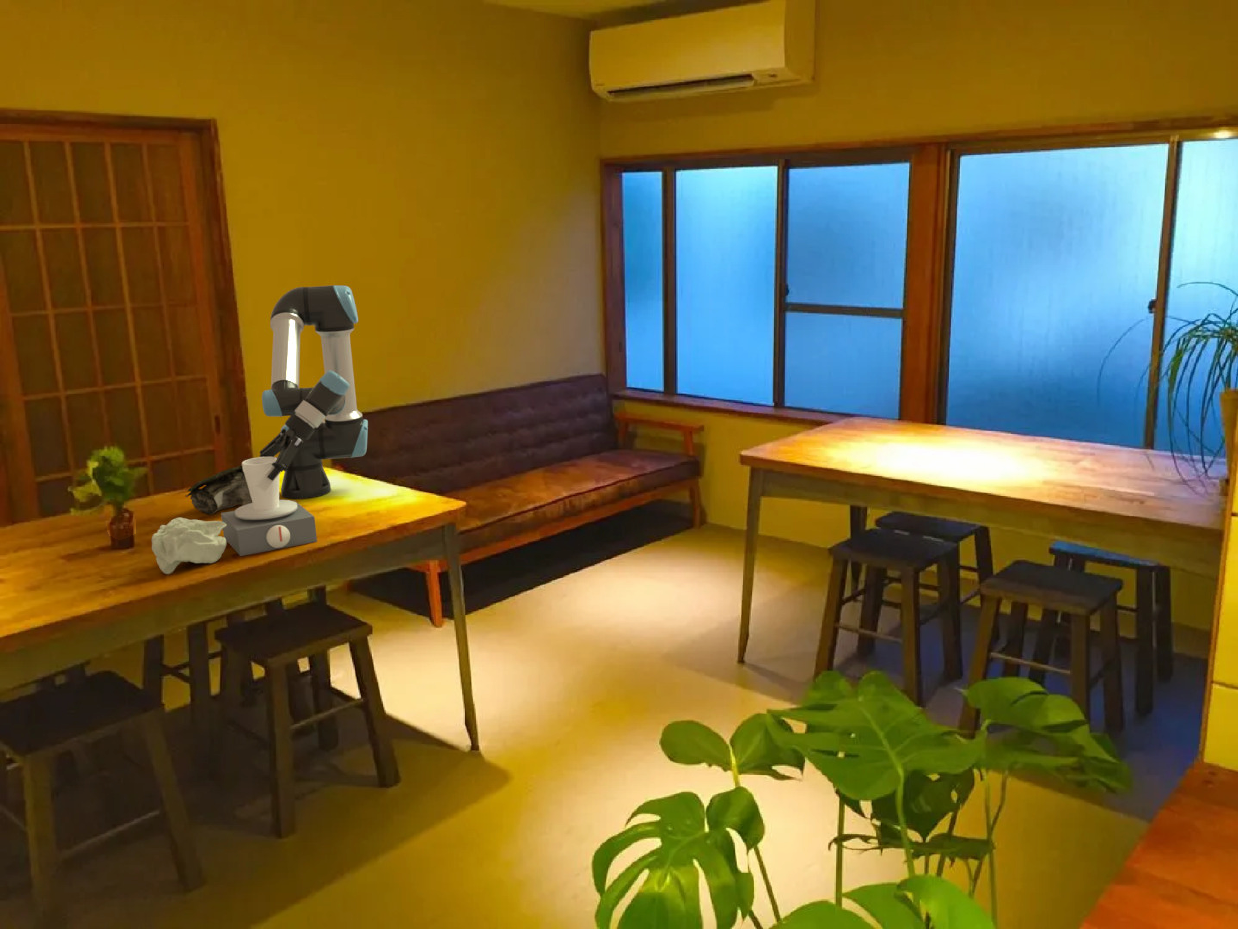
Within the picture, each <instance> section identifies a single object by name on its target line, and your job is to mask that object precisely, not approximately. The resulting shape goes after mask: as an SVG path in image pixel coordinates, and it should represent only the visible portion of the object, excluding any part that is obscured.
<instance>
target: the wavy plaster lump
mask: <svg viewBox="0 0 1238 929" xmlns="http://www.w3.org/2000/svg"><path fill="white" fill-rule="evenodd" d="M225 527H226V523H224V522H222V520H221V521H220V520H211V521H210V520H209V521H206V520H200V519H199V520H198V519H188V518H184V517H181V516H180V517H176V518H173V519H171V520H170V521H169V522H168V523H167V524H166V525H165V524H161V525H160V526H159V529H157V532H155V533H153V534H152V537H151V550H152V552H153V554H154V556H156V557H155V560H156V562H157V563H156V564H157V565H158V566H159V569H160V571H161V572H162V573H163V574H165V575H170V574H172V573H173V572H175V570H176V568H177V567H178V565H180V564H181V563H182V562H185V563H188V562H190V563H194V564H214V563H216V562H217V561H219V559H221V557H222V554H223V553H225V550H226V547H227V543H228V541H227V540H226V539H225V537H224V536H220V534H221V531H223V528H225Z"/></svg>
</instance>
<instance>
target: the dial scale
mask: <svg viewBox="0 0 1238 929" xmlns="http://www.w3.org/2000/svg"><path fill="white" fill-rule="evenodd" d="M220 515H221V516H220V517H221V522H224V523H226V527H225V528H223V529H222V532H223V537H225V539H226V542H227V543H228V544H229V545H230V547H232V549H234V551H235V552H236V554H238V555H239V557H243V556H248V555H253V554H258V553H264V552H270V551H274V550H275V551H276V550H279V549H284V548H285V549H286V548H289V547H295V546H302V545H305V544H311V543H312V544H313V543H316V542H318V536H317V529H316V528H317V527H316V520H315V519H316V518H315V516H314V515H313V514H312V513H310V511H308V510H307V509H306V508H305V507H303V506H302V505H301V504H300V503H298V502H297V501H296V500H289V499H279V506H278V507H277V508H275V509H271V510H265V511H258V510H255V509H254V506H253V503H252V502H250V503H247V504H243V505H242V506H239V507H238V508H236V509H235V510H231V511H226V512H220Z"/></svg>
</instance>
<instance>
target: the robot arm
mask: <svg viewBox="0 0 1238 929" xmlns="http://www.w3.org/2000/svg"><path fill="white" fill-rule="evenodd" d="M355 302H356V301H355V297H354V295H353V291H352V288H350V287H349V286H347V285H338V284H337V285H332V284H331V285H321V286H320V285H318V286H299V287H295V288H292V289H290V290H289V291H287V292H285V294H283V295H282V296H281V297H280V298H279V299H278V300H277V302H276V303H275V305H274V307H273V309H272V311H271V313H270V314H271V315H270V320H269V321H270V328H271V331H273V332H272V333H273V336H272V338H273V339H272V356H271V357H272V358H271V381H270V382H271V383H270V384H271V385H270V389H267V390H263V392H262V395H261V401H262V409H263V413H264V414H265V416H267V417H279V418H280V417H281V418H282V417H285V416H286V417H288V416H289V417H288V418H287V419H286V421H285V422H284V425H282V427H281V428H280V432H279V433H278V434H277V435H276V436H275V437H273V439H272V440H271V441H270V442H269V443H267V445H265V446H264V447H263V448H262V449H261V450H260V451H259V457H276V455H277V454H278V456H277V460H276V462H274V463H272V464H271V465H272V466H271V467H270V469H269V470H268V471H267V472H266V474H265V475H264V476H263V477H262V479H261V480H260V481H259V482H258V483H257V485H256V486H258V487H259V488H260V489H262V490H263V491H266V490H267V489H268V487H269V486H270V485H271V484H272V482H273V481H274V480H275V479H276V477H277V476H278V475H279V476H280V474H281V473H282V472H283V471H284V474H283V478H282V482H281V486H280V487H281V488H280V490H281V491H280V492H281V496H282V497H283V498H286V499H297V500H300V499H312V498H316V497H321V496H324V495H326V494H328V493H330V492H331V491H332V488H331V482H330V480H329V478H328V476H327V473H326V471H325V469H324V467H323V466H324V465H323V460H331V459H347V458H348V459H349V458H350V459H352V458H357V457H363V456H365V455H366V453H367V448H368V447H367V446H368V433H369V432H368V429H369V427H368V426H369V421H368V419H366V418H365V419H364V418H363V413H362V412H360V411H359V410H358V407H357V406H358V405H357V395H356V386H355V377H354V376H355V374H354V366H353V365H354V364H353V356H352V346H351V344H352V343H351V336H350V335H351V333H352V332H353V331H354V330H355V324H357V323H358V322H359V316H358V310H357V305H356V303H355ZM305 326H308V327H309V326H313V327H314V332H315V333H317V334H318V335H319V336H320V340H321V349H322V350H321V351H322V357H323V368H324V374H323V375H322V376H321V377H320V378H319V380H318V382H317V383H315V385H314V386H313V387H300V357H301V355H300V354H301V353H300V352H301V334H302V332H303V331H304V328H305ZM273 466H274V467H273ZM244 476H245V475H244Z"/></svg>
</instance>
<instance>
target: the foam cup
mask: <svg viewBox="0 0 1238 929" xmlns="http://www.w3.org/2000/svg"><path fill="white" fill-rule="evenodd" d="M277 458H278V456H277V457H276V456H274V457H260V456H259V457H254V458H253V457H251V458H248V459H245V460H243V461H242V462H241V465H242V468H243V472H244V474H245V478H246V481H247V485H248V488H249V492H250V495H251V499H252V500H251V503H253V506H254V509H255V510H258V511H265V510H271V509H275V508H277V507H278V506H279V500H280V474H279V475H278V476H277V477H276V479H275V480H274V481H273V482H272V484H271V485H270V486H269V487H268V489H267V490H266V491H263V490H262V489H260V488H259V487H258V486H256V485H257V483H258V482H259V481H260V480H261V479H262V477H263V476H264V475H265V474H266V472H267V471H268V470H269V469H270V467H271V466H272V465H271V464H272V463H274V462H276V460H277ZM273 467H274V466H273Z"/></svg>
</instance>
